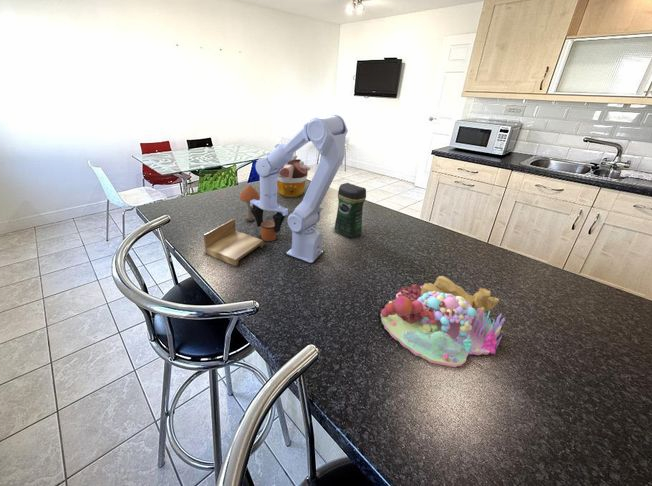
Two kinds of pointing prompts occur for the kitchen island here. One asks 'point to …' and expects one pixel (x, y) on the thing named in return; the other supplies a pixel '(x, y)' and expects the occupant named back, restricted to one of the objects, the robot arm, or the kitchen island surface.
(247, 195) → the mushroom
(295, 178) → the bucket of meat
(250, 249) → the shelf
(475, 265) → the kitchen island surface
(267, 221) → the pot
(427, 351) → the candy landscape model
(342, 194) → the coffee jar
